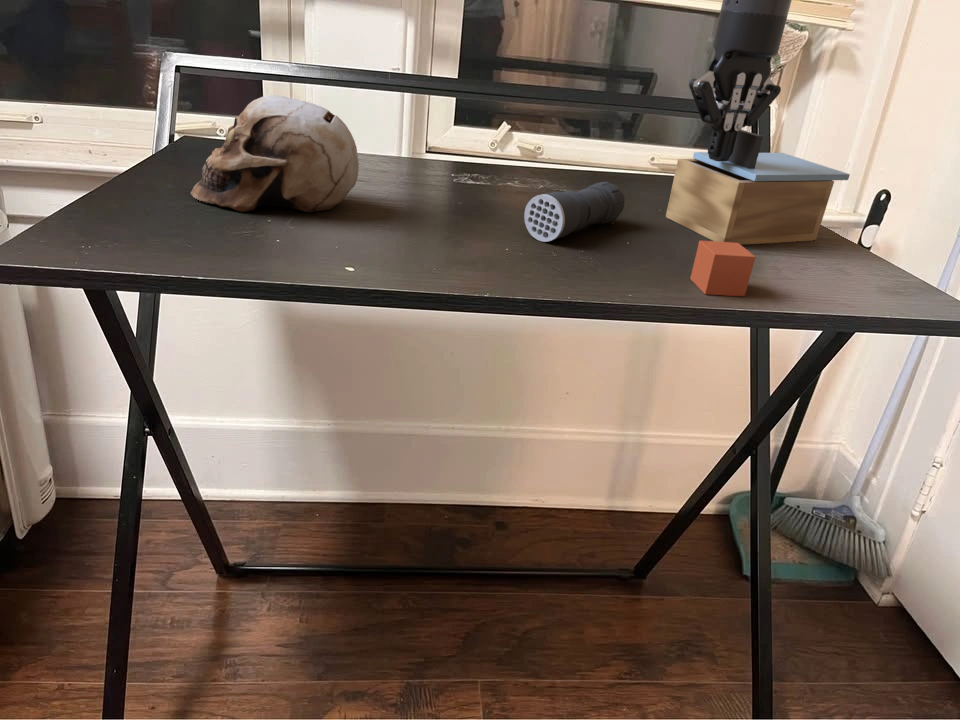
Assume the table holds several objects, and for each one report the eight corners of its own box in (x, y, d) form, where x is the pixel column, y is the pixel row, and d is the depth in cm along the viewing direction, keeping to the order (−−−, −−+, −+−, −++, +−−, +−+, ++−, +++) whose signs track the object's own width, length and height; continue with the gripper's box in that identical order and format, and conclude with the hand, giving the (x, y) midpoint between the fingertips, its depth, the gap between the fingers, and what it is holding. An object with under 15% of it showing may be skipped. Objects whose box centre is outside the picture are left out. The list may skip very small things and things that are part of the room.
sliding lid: (848, 180, 97) (860, 142, 95) (754, 181, 91) (765, 141, 88) (781, 158, 107) (791, 123, 104) (692, 158, 100) (700, 121, 98)
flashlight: (589, 215, 100) (596, 174, 98) (624, 225, 97) (632, 184, 95) (521, 234, 89) (527, 189, 87) (558, 247, 86) (565, 201, 84)
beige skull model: (182, 188, 92) (187, 75, 86) (312, 193, 102) (324, 92, 96) (227, 231, 81) (235, 105, 75) (367, 232, 91) (383, 120, 86)
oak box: (815, 240, 100) (834, 181, 96) (722, 245, 93) (739, 182, 90) (753, 214, 109) (768, 159, 106) (665, 217, 103) (677, 158, 99)
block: (728, 281, 82) (738, 242, 80) (744, 296, 78) (755, 256, 76) (689, 278, 81) (699, 240, 79) (704, 294, 77) (714, 254, 75)
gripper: (732, 7, 81) (695, 167, 89) (820, 17, 86) (778, 167, 94) (688, 2, 87) (658, 153, 95) (773, 11, 92) (738, 153, 100)
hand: (718, 159), depth 94 cm, fingers closed
